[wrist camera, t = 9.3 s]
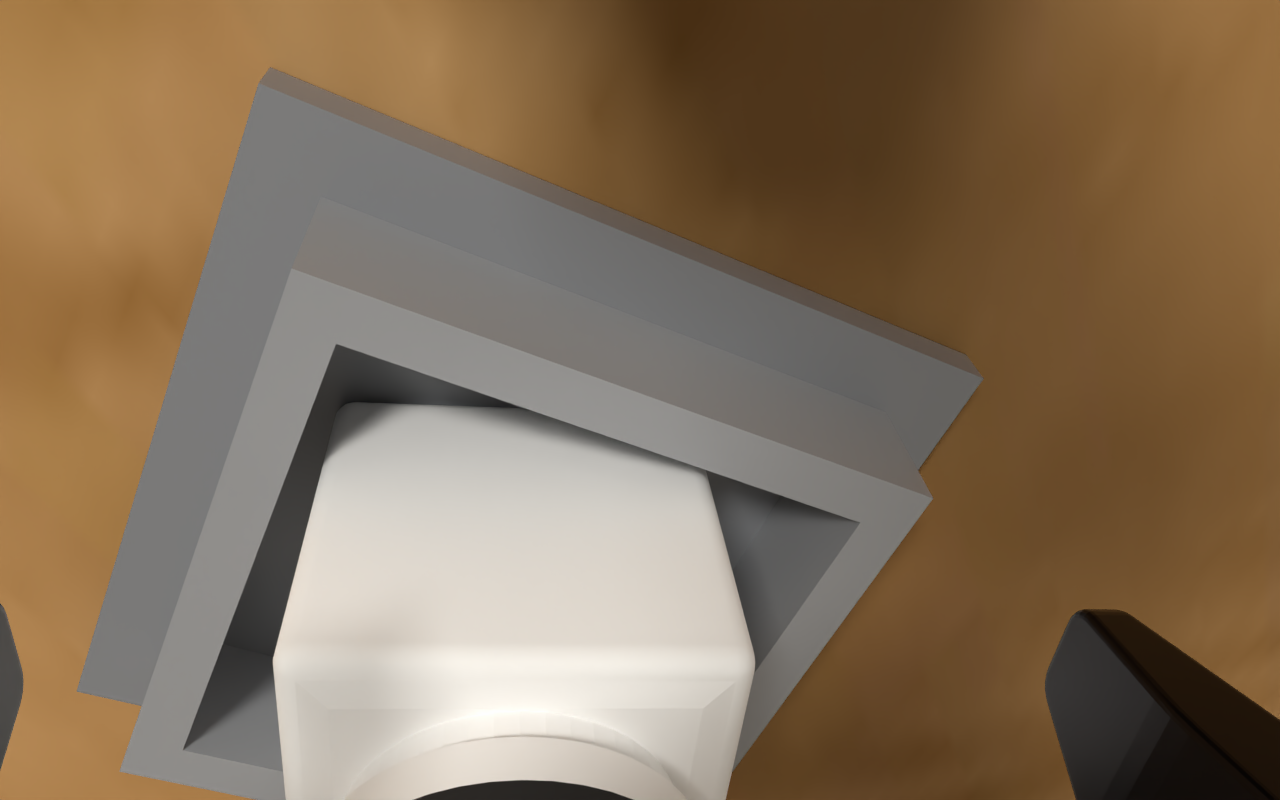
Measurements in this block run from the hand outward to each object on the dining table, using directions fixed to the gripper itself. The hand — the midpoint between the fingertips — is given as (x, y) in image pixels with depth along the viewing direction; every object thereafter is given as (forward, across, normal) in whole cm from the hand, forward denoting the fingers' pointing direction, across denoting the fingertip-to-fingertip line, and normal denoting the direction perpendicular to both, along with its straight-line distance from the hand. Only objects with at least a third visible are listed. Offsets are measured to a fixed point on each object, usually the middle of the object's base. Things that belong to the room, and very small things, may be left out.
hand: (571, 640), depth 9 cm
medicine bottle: (+12, 0, +9) cm, 15 cm away
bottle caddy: (+12, 0, +9) cm, 15 cm away
